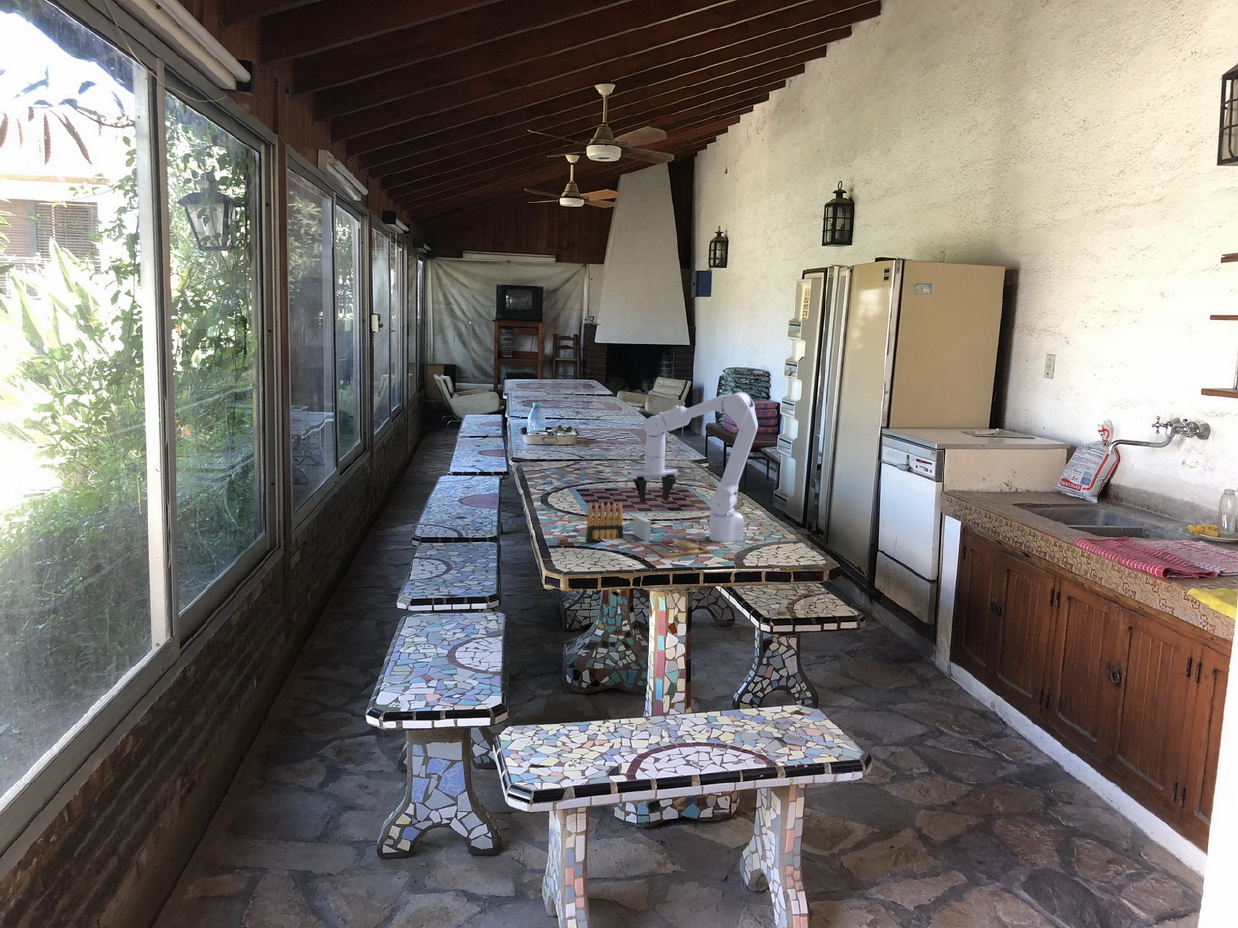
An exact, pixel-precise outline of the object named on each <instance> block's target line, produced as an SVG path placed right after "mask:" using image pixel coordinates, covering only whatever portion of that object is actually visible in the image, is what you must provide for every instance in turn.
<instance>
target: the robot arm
mask: <svg viewBox="0 0 1238 928" xmlns="http://www.w3.org/2000/svg"><path fill="white" fill-rule="evenodd" d="M755 405H756V404H755V402H754V400H753V399H752V398H751V397H750V395H749V394H748V393H747V392H745V391H737V392H734V394H733V393H730V394H725V395H720V396H716V397H713V398H711V399H708V400H705V401H703V402H700V403H698V404H695V405H693V406H691V407H685V406H683V405H680V406H679V405H674V406H672V409H669V410H666V411H664V412H663V411H660V412H658V415H652V416H650V417H648V418H646V419H645V421H644V424H643V429H644V432H645V433H646V435H645V437H646V438H645V439H646V441H645V459H644V460H645V464H644V466H645V467H644V469H640V470H632V471H631V472H630V478H631V479H632V481H633V483H634V485H635V488H636V490H637V493H638V494H637V495H638V498H639V499H638V500H639V502H640V503H645V502H646V491H647V490H646V488H647V484H648V481H647V480H646V479H647V478H661V483H662V484H661V485H662V495H661V497H662V500H663V501H665V502H667V501H668V500H669V496H670V493H671V491H672V488H673V486H674V484H675V483H676V482H677V477H678V475H679V473H678V472H679V471H678V469H676V468H665V463H666V462H665V459H666V457H665V456H666V432H671V431H674V430H676V429H679V428H682V427H685V426H688V425H689V424H690V422H691V420H692V418H696V417H700V416H702V415H705V414H708V413H713V412H714V411H715V412H718V413H720V414H721V413H725V414H726V415H727V416H728V417H729V418H731V419H732V420H733V421H734V423H735V425H736V427H737V429H738V432H737V434H736V437H735V440H734V442H733V443H734V444H733V445H732V448H731V452H730V455H729V457H728V460H727V463H726V466H725V470H724V472H723V476H722V478H721V480H720V482H719V484H718V486H717V487H716V490H715V492H714V493H713V494H712V496H710V499H709V500H708V506H709V509H710V512H709V515H710V516H709V517H710V518H709V535H708V539H709V540H711V541H713V542H718V543H730V542H735V541H743V540H744V527H745V523H744V517H743V515H742V514H741V513H740V512H737V511H736V510H735V508H734V507H735V506H736V505H737V503H738V490H739V482H740V480H741V477H742V474H743V472H744V469H745V466H746V463H747V459H748V457H749V455H750V452H751V449H752V447H753V442H754V440H755V437H756V435H757V431H758V429H759V424H758V419H757V415H756V414H757V413H756V409H755V407H756V406H755ZM645 478H646V479H645Z"/></svg>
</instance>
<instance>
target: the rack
mask: <svg viewBox="0 0 1238 928" xmlns="http://www.w3.org/2000/svg"><path fill="white" fill-rule="evenodd" d="M683 540H686V541H688V542H690V543H692V544H694V545H697V546H699V550H700V551H692V552H689V551H685V552H677V551H676V550H674V549H672V548H671V547H669V546H667V545H665V544H663V543H662V542H658V545H661V546H662V547H664V548H666V549H667V550H669V551H671V552H673V553H663V552H661V551H659V550H658V549H656V548H655V547H653V546H650V545H649V544H647V543H645V544H643V546H644V547H646V549H649V550H651V551H653V552H654V553H656V554H658V555H660V556H661V558H663V559H668V558H669V559H671V558H678V557H688V556H696V555H697V556H699V555H707V554H709V555H710V554H711V550H710V549H708V548H706V547H704V546H702V545H700V544H698V543H695V542H694V541H692V540H690V539H688V538H683Z"/></svg>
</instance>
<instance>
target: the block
mask: <svg viewBox="0 0 1238 928" xmlns="http://www.w3.org/2000/svg"><path fill="white" fill-rule="evenodd" d="M632 522H633V524H632V527H633V528H632V535H633V536H635V537H637V538H639V539H641V540H642V541H644V542H650V541H651V540H652V539H651V538H652V521H651V520H649V519H647V518H646V517H643V516H641V515H640V514H639V515H638V514H637V515H633V521H632Z"/></svg>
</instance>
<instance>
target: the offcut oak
mask: <svg viewBox="0 0 1238 928" xmlns="http://www.w3.org/2000/svg"><path fill="white" fill-rule="evenodd" d="M673 544H674V545H676V546H677V547H680V548H681V547H683V548H685V549H687V550H689V551H691V550H699V546H697V545H694V544H692V543H690V542H688V541H686V540H684V539H677V540H673ZM683 548H682V549H683ZM685 549H684V550H685ZM687 550H686V551H687ZM689 551H688V552H689Z"/></svg>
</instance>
